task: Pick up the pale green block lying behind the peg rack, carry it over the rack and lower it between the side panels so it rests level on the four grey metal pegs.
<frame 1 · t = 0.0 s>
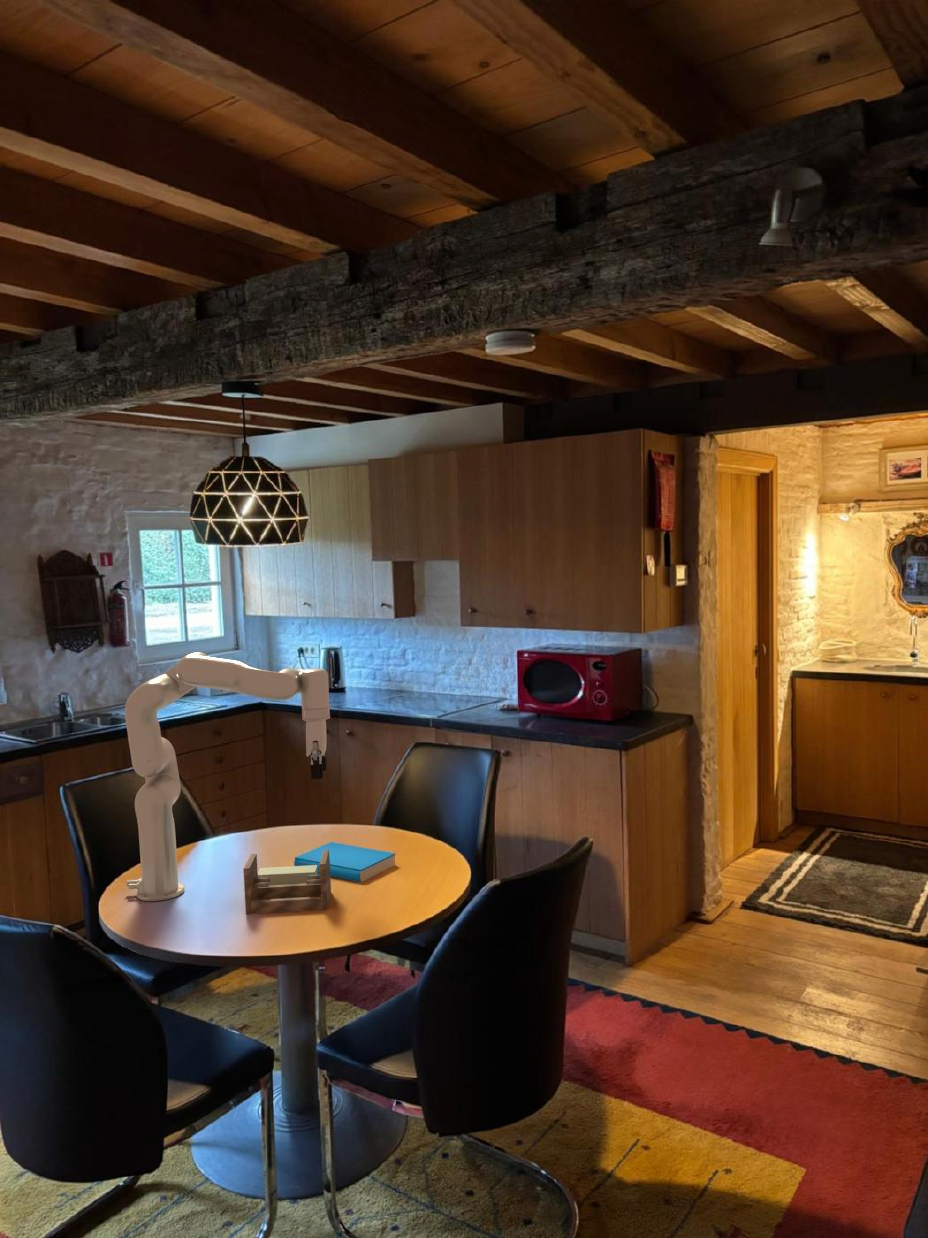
hand: (318, 774, 259), 31 cm above the table, fingers open, 9 cm apart
pale green block: (288, 887, 260), on the table
book: (345, 869, 275), on the table
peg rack: (289, 903, 247), on the table
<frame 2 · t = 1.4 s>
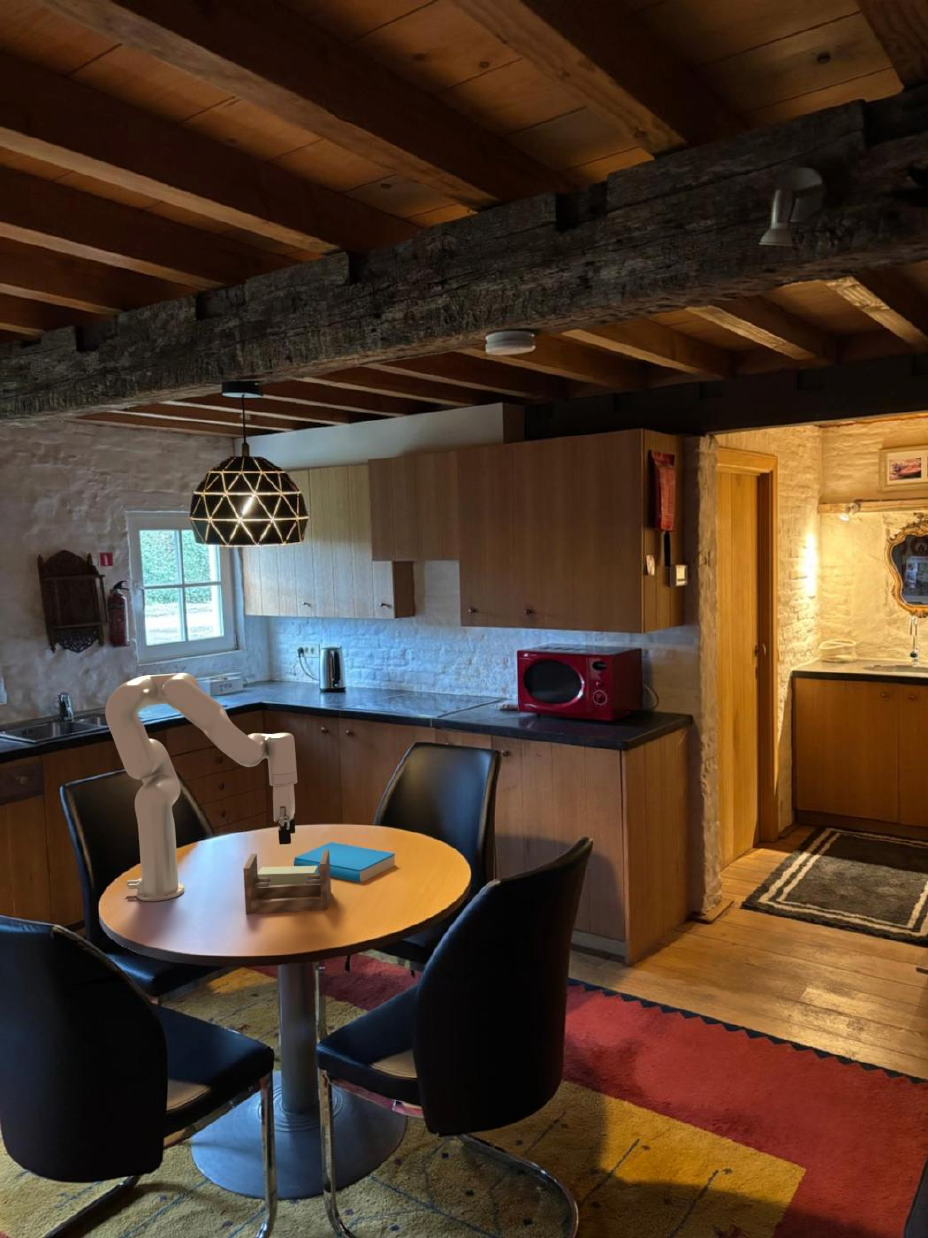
hand: (287, 838, 259), 14 cm above the table, fingers open, 9 cm apart
nothing on the table moved.
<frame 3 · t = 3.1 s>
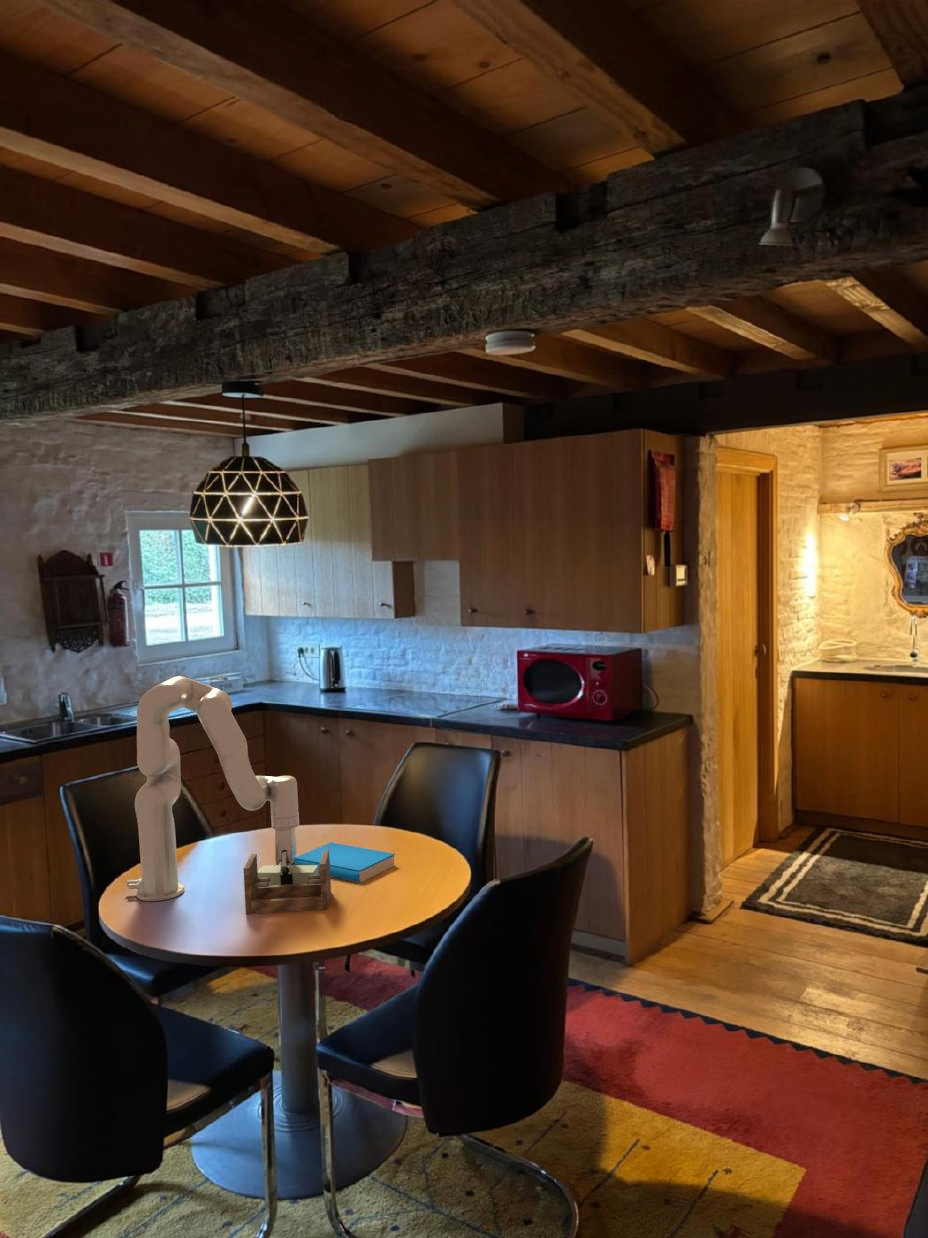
hand: (288, 883, 260), 1 cm above the table, fingers closed on pale green block, 6 cm apart
pale green block: (288, 886, 260), on the table, touching gripper
everything else where it was.
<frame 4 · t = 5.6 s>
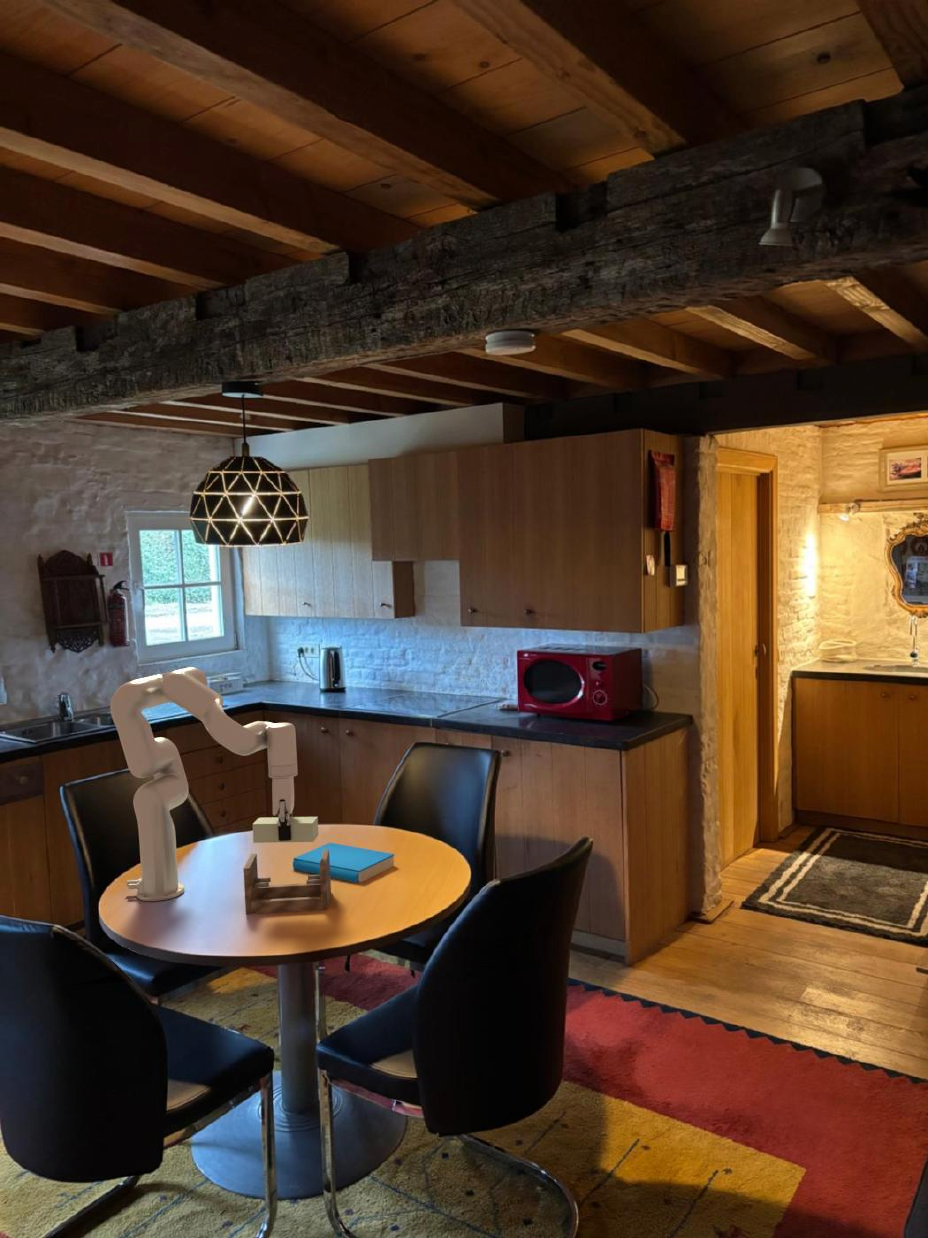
hand: (286, 835, 248), 18 cm above the table, fingers closed on pale green block, 6 cm apart
pale green block: (286, 838, 248), point 17 cm above the table, touching gripper
everything else where it was.
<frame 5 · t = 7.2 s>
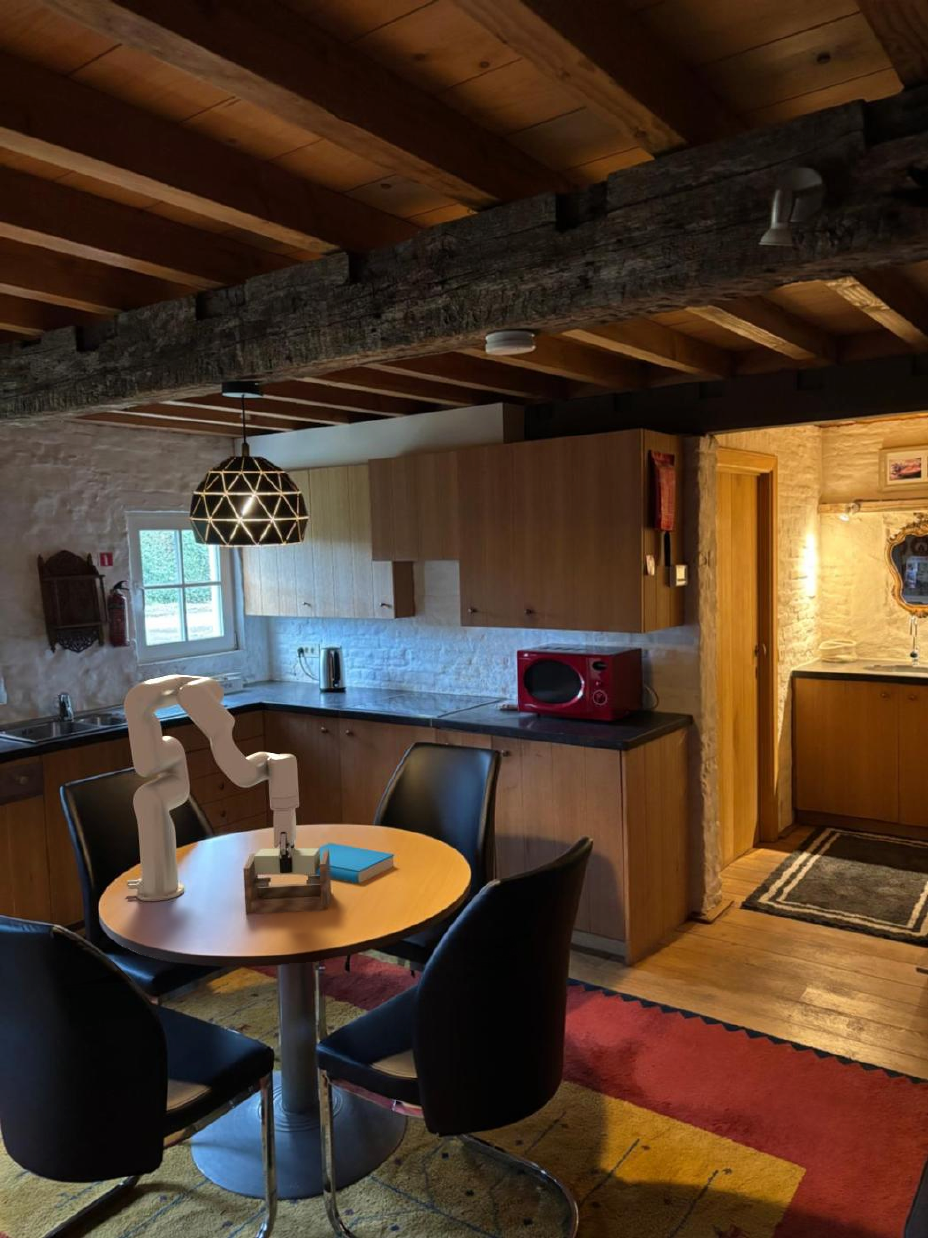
hand: (288, 867, 247), 10 cm above the table, fingers closed on pale green block, 6 cm apart
pale green block: (288, 870, 247), point 9 cm above the table, touching gripper
everything else where it was.
when the fingers open (8 cm above the table, at t = 8.4 s): pale green block stays where it is, resting on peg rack.
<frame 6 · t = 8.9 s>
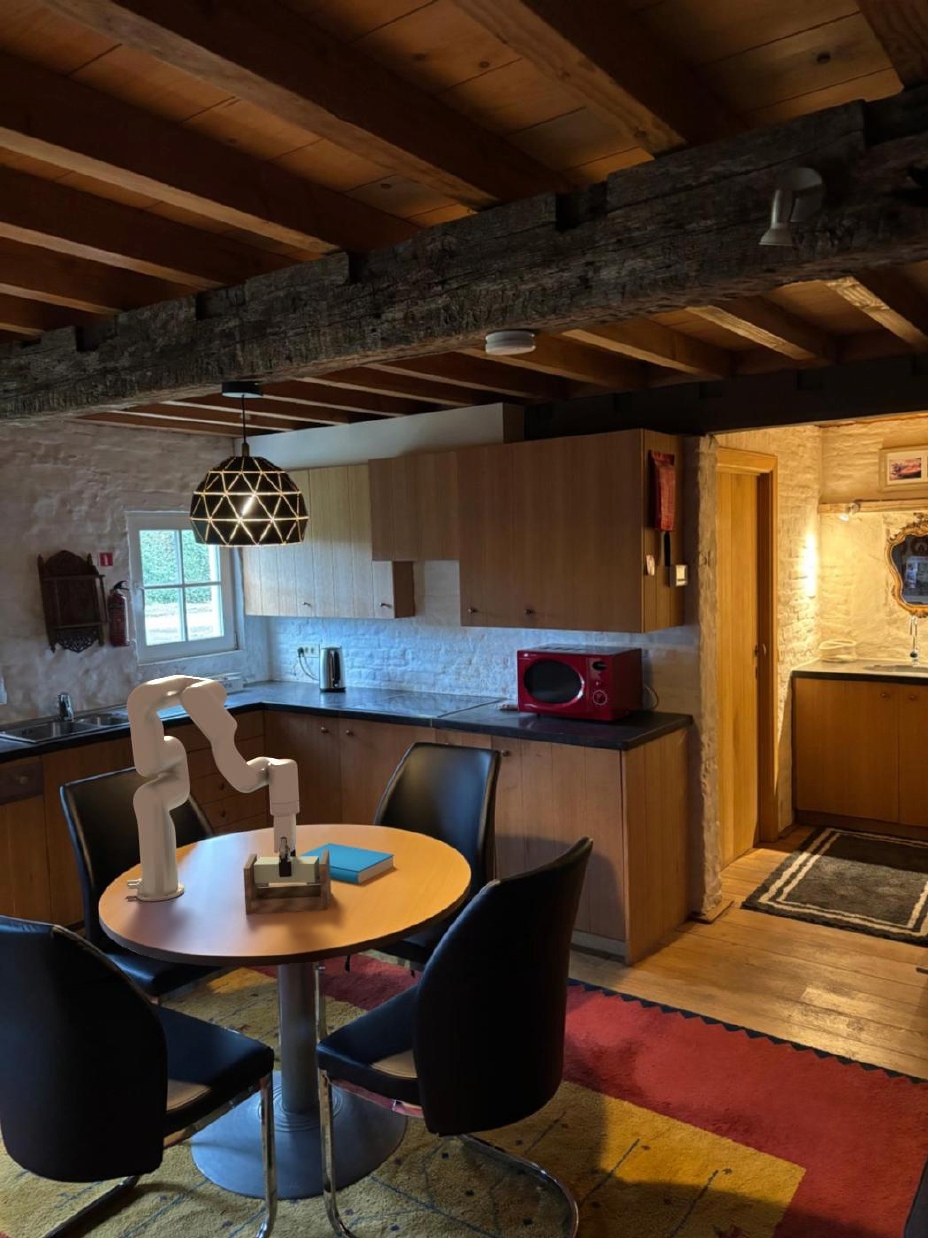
hand: (287, 870, 247), 9 cm above the table, fingers open, 9 cm apart
pale green block: (287, 878, 247), point 7 cm above the table, touching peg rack
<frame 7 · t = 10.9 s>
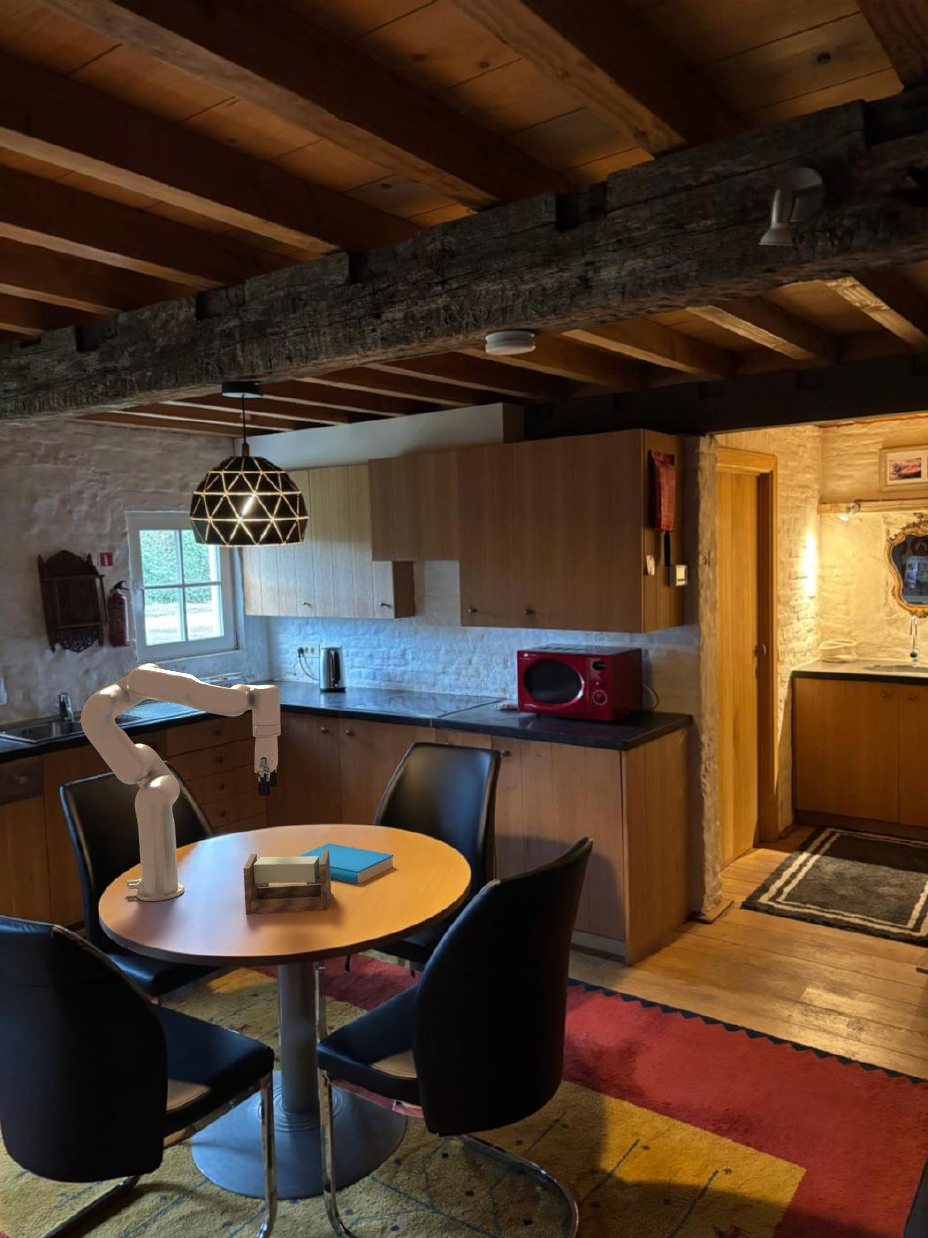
hand: (268, 791, 259), 27 cm above the table, fingers open, 9 cm apart
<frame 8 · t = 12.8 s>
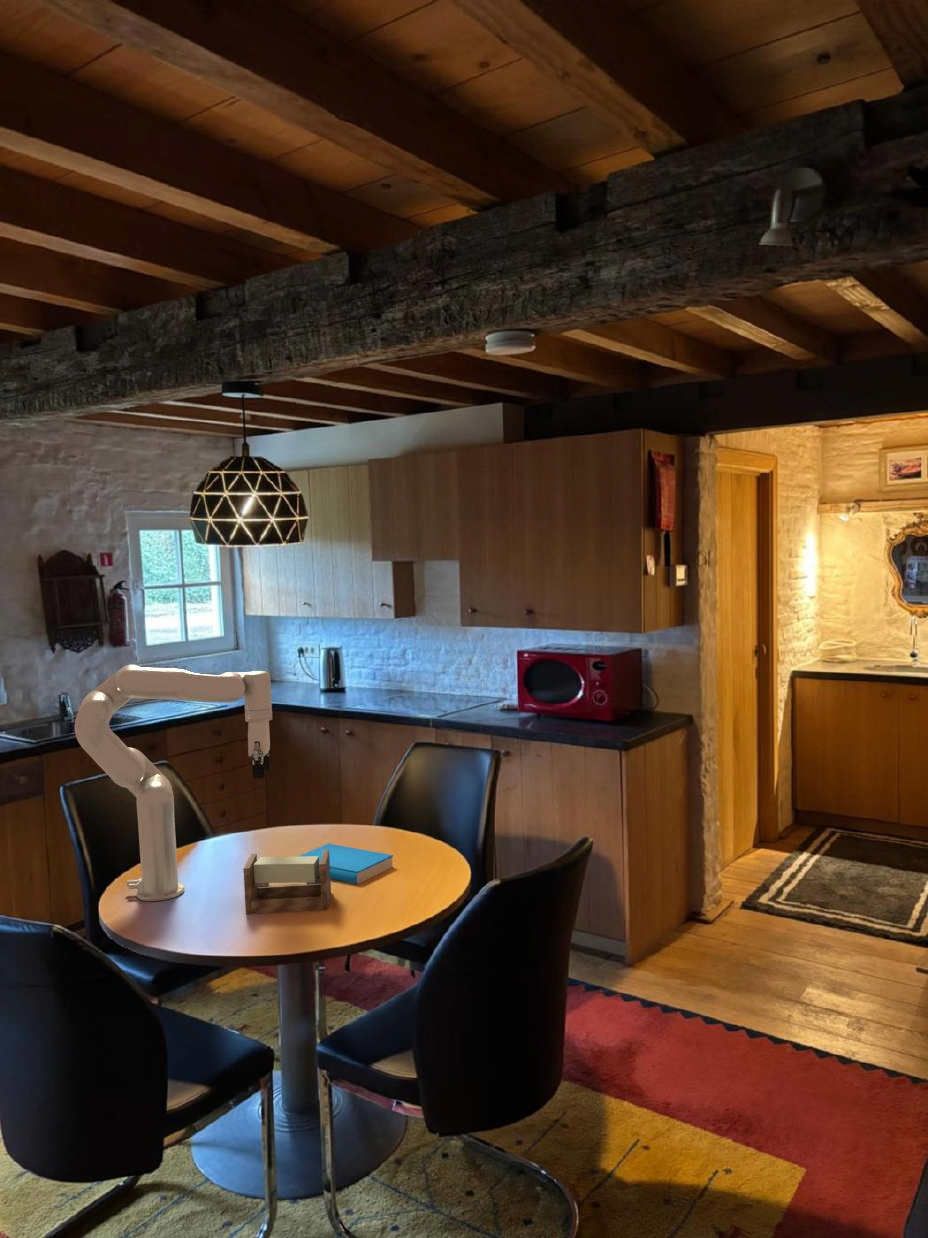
hand: (261, 774, 266), 30 cm above the table, fingers open, 9 cm apart
at the end: pale green block 0.2 cm off-centre on the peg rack, point 6.6 cm above the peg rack's base; pale green block tilted 0°; the gripper is holding nothing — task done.
